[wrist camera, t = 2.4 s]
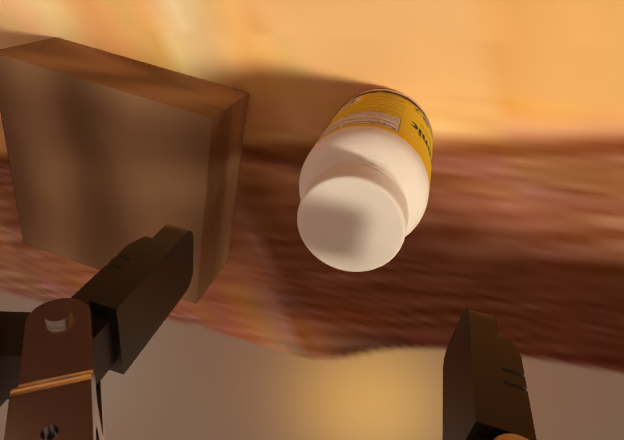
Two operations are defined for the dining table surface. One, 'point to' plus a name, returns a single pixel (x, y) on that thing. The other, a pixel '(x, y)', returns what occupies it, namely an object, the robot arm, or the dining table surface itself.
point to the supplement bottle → (366, 181)
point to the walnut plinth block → (119, 153)
